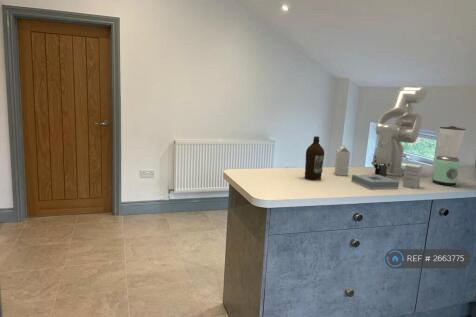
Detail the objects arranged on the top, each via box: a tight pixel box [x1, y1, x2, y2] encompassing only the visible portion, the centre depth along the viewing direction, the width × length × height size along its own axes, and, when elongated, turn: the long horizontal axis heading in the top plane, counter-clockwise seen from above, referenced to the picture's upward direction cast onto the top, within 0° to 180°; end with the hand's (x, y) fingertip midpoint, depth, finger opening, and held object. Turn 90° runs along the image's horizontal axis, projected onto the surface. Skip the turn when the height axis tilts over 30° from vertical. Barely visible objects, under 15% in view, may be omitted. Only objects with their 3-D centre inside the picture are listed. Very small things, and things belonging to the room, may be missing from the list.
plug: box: [374, 164, 387, 177], centre depth 225 cm, size 4×4×8 cm
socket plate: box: [351, 173, 400, 190], centre depth 206 cm, size 18×18×5 cm
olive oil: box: [304, 135, 325, 181], centre depth 212 cm, size 11×11×25 cm
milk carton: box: [333, 144, 351, 177], centre depth 229 cm, size 7×7×19 cm
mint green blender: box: [431, 125, 466, 186], centre depth 219 cm, size 19×13×35 cm
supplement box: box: [402, 163, 423, 190], centre depth 207 cm, size 7×7×13 cm
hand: (380, 174), depth 225 cm, fingers closed on plug, 4 cm apart
